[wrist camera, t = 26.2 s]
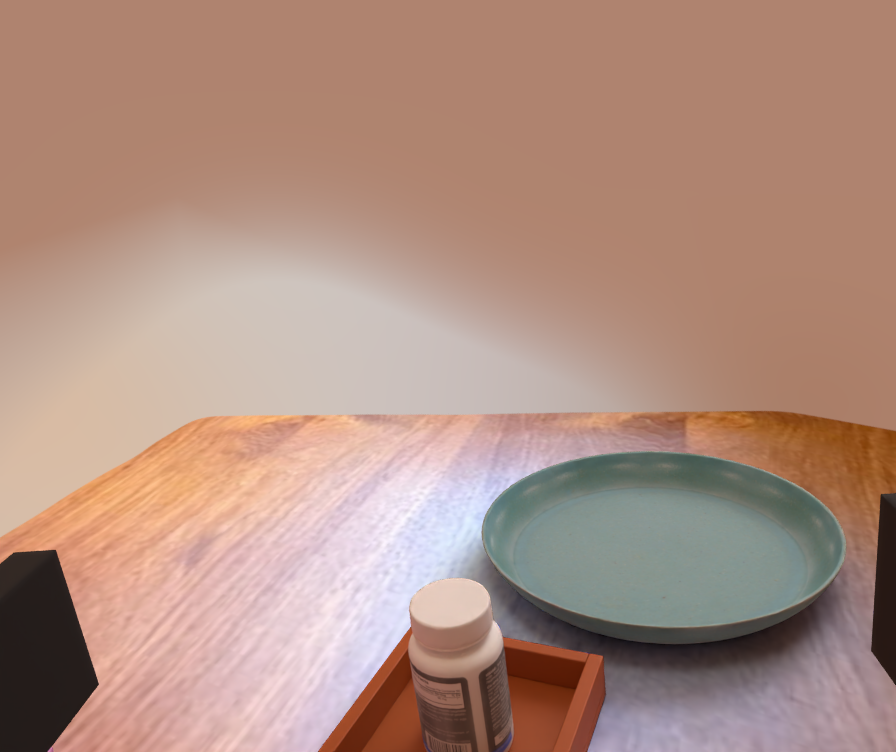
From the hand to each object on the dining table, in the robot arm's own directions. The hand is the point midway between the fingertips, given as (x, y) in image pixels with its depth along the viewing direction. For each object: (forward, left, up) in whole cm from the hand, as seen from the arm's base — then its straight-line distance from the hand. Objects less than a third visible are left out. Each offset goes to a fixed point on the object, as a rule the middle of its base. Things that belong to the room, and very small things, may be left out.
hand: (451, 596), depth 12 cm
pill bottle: (+10, -18, -22) cm, 30 cm away
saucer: (+4, -38, -23) cm, 44 cm away
